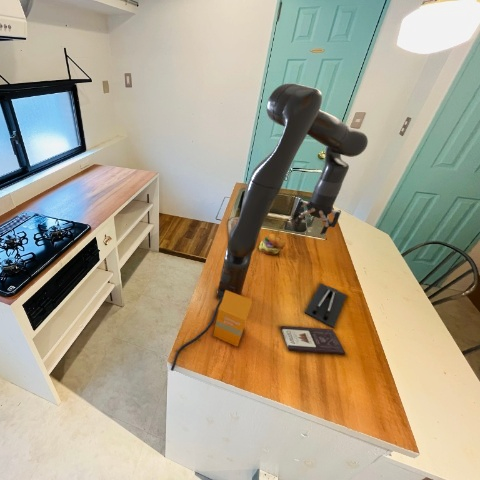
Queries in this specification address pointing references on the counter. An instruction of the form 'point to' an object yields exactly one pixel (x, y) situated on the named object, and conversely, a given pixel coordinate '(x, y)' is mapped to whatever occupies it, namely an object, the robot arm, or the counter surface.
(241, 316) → the orange juice
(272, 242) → the cheeseburger
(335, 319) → the mat
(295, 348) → the chocolate bar
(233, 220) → the fish fossil
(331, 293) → the tongs
